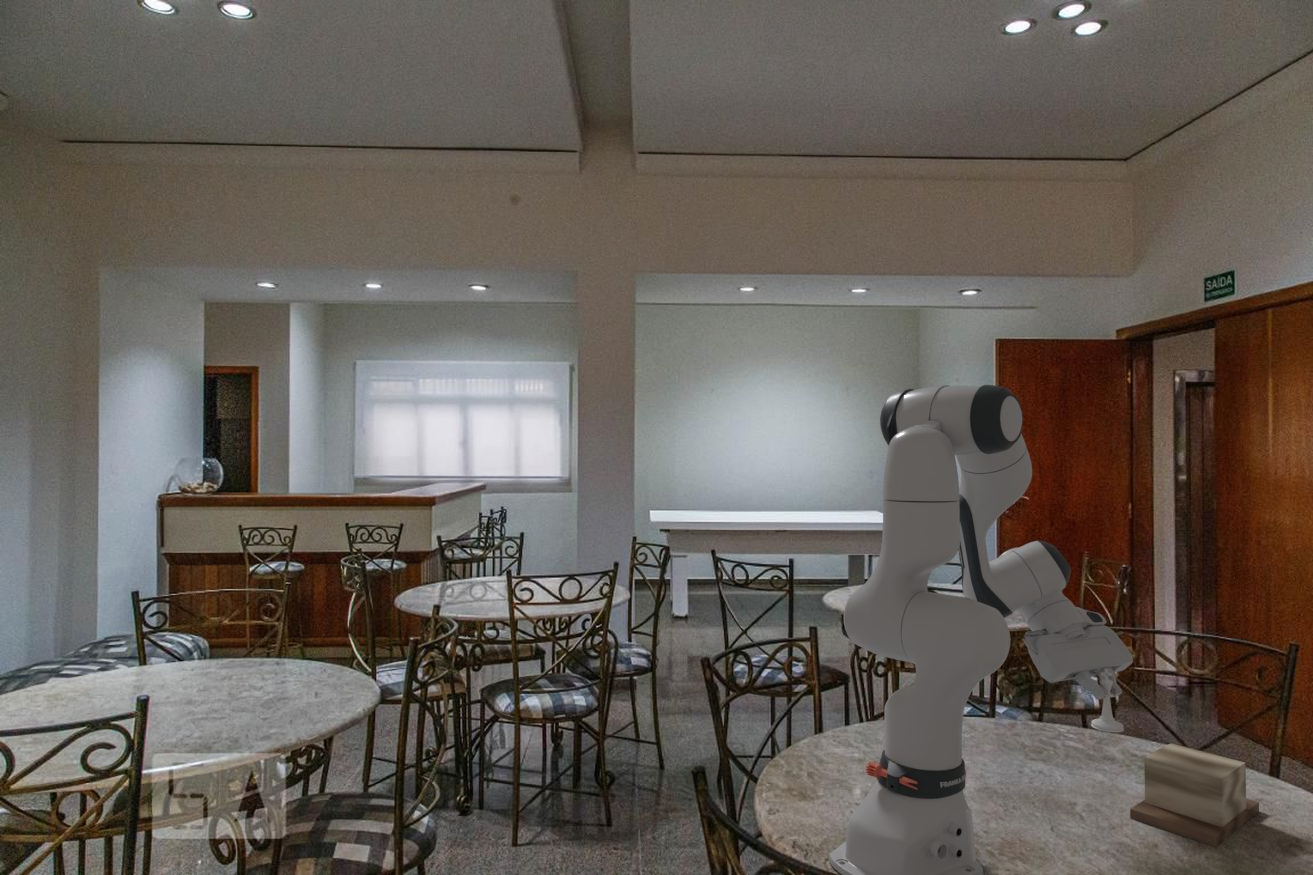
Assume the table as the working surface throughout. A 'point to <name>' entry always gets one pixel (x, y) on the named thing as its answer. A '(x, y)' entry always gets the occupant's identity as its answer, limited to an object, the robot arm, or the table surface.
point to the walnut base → (1194, 794)
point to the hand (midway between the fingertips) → (1110, 696)
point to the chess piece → (1107, 709)
